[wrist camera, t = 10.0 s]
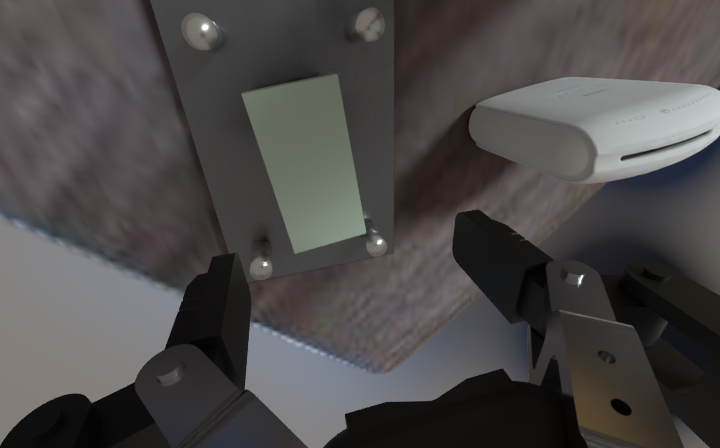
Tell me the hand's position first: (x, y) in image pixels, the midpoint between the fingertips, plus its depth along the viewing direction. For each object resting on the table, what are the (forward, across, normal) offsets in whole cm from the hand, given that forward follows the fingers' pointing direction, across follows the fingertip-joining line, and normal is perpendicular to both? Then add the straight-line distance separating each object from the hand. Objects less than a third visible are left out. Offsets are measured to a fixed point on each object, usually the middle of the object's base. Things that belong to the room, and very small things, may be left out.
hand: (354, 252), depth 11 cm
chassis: (+14, +1, 0) cm, 15 cm away
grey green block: (+12, +1, 0) cm, 13 cm away
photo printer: (+15, -18, -1) cm, 24 cm away
